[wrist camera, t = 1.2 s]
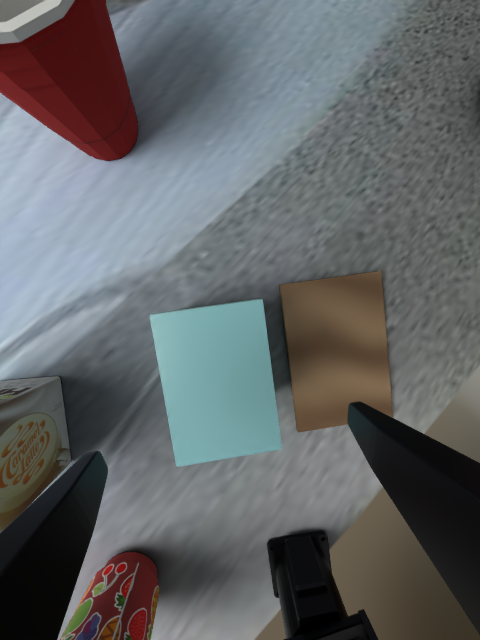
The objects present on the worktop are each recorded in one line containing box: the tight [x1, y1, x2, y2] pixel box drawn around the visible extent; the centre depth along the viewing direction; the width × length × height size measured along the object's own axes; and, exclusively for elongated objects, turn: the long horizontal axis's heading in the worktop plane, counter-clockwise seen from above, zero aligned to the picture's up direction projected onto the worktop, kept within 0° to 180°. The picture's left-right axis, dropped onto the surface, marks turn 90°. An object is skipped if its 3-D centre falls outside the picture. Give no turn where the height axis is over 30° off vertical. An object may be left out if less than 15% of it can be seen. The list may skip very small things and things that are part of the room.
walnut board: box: [279, 271, 393, 432], centre depth 23 cm, size 15×10×1 cm, turn 8°
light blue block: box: [149, 299, 282, 467], centre depth 18 cm, size 10×7×8 cm
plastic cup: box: [0, 0, 138, 161], centre depth 14 cm, size 11×11×12 cm
